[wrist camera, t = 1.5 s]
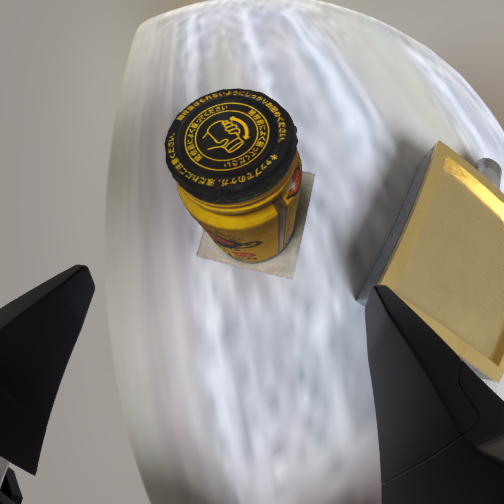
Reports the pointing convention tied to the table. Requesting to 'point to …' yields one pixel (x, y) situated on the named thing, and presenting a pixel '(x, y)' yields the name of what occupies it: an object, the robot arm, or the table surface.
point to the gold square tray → (451, 256)
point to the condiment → (241, 179)
